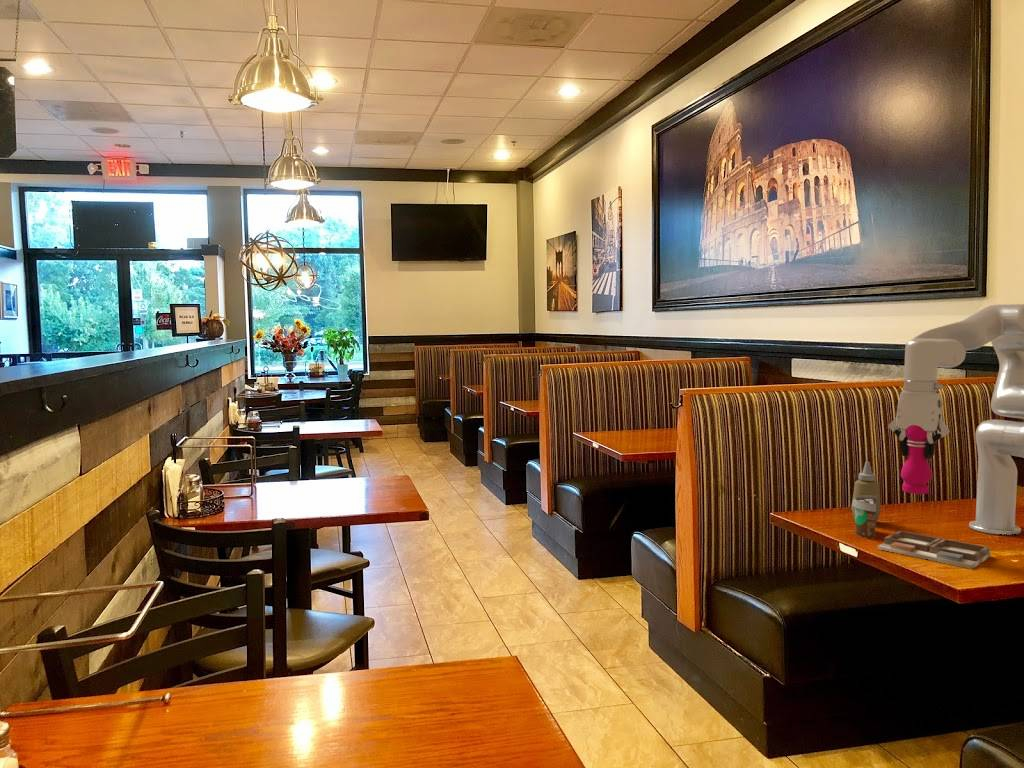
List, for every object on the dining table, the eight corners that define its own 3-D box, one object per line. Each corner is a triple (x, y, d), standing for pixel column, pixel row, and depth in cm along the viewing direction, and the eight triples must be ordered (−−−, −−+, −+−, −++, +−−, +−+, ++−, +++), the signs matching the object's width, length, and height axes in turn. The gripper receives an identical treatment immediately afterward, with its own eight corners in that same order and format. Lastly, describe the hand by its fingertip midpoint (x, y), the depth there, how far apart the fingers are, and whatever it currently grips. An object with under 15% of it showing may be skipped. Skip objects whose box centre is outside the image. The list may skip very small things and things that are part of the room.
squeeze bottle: (886, 522, 229) (888, 462, 227) (870, 526, 224) (873, 465, 223) (860, 517, 235) (862, 458, 234) (845, 520, 231) (847, 461, 229)
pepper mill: (935, 495, 198) (938, 417, 196) (904, 493, 199) (907, 417, 198) (926, 489, 205) (929, 414, 204) (896, 488, 206) (899, 413, 205)
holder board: (899, 538, 211) (899, 529, 211) (990, 556, 195) (991, 546, 195) (877, 549, 201) (877, 540, 201) (971, 569, 185) (972, 558, 185)
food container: (852, 527, 223) (853, 493, 223) (875, 529, 221) (876, 495, 220) (850, 537, 212) (851, 502, 212) (874, 540, 210) (876, 504, 209)
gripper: (961, 388, 197) (957, 459, 198) (891, 384, 209) (888, 451, 210) (951, 390, 191) (947, 462, 193) (880, 386, 204) (877, 454, 205)
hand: (916, 456), depth 202 cm, fingers closed on pepper mill, 5 cm apart
